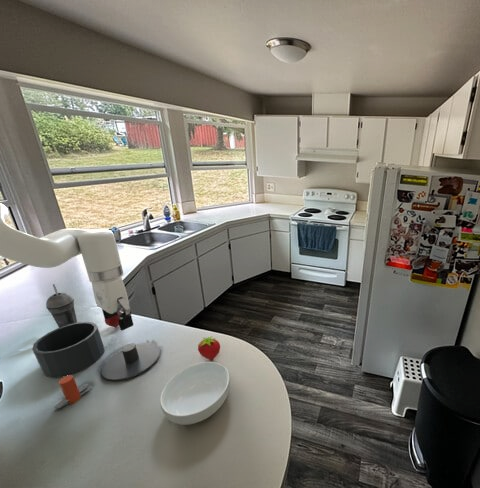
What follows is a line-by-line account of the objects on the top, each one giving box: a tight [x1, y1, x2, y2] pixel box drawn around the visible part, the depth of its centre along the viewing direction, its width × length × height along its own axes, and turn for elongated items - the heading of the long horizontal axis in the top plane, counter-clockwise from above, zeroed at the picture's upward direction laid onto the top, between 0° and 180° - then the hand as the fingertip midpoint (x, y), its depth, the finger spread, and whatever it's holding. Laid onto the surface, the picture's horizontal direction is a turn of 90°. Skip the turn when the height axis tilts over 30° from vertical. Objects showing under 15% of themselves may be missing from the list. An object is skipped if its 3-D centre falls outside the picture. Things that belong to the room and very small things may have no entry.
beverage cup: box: [45, 283, 78, 328], centre depth 93 cm, size 7×7×20 cm
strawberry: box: [197, 335, 221, 361], centre depth 83 cm, size 6×8×10 cm
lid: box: [100, 342, 161, 382], centre depth 82 cm, size 16×16×6 cm
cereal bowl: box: [159, 361, 231, 426], centre depth 69 cm, size 17×17×7 cm
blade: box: [53, 374, 93, 411], centre depth 69 cm, size 8×3×8 cm, turn 151°
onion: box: [104, 311, 123, 328], centre depth 98 cm, size 6×6×8 cm
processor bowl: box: [31, 321, 105, 379], centre depth 81 cm, size 15×15×10 cm
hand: (119, 322), depth 77 cm, fingers open, 9 cm apart
